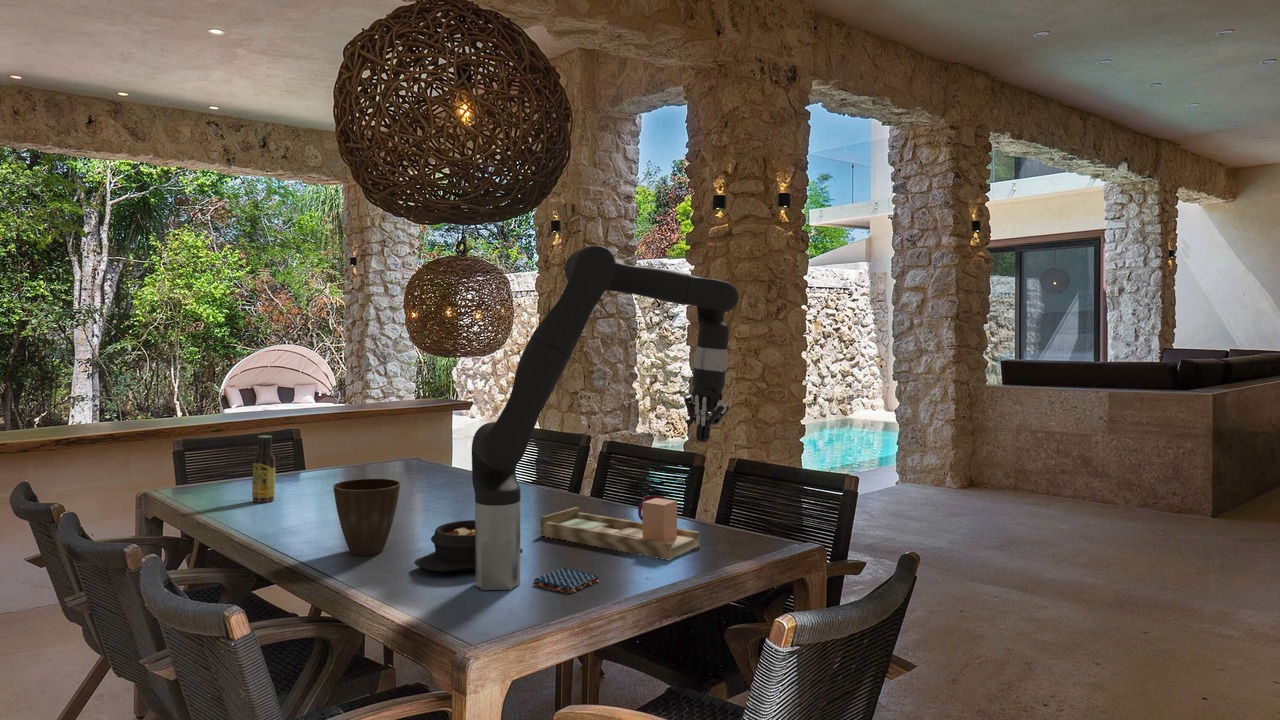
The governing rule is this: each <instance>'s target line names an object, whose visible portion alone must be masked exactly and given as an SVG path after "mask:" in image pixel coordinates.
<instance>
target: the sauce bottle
mask: <svg viewBox="0 0 1280 720" xmlns="http://www.w3.org/2000/svg"><path fill="white" fill-rule="evenodd" d="M257 442H258V444H257V451H256V454H255V458H254V459H253V463H252V479H251V481H252V484H251V485H252V487H251V488H252V489H251V490H252V491H251V493H252V494H251V496H252V502H253V503H259V504H264V503H265V504H266V503H269V502H273V501H274V500H275V495H276V493H275V492H276V489H275V488H276V456H275V455H274V454H273V451H272V450H273V448H272V445H273V444H272V443H273V436H272V435H259V436H257Z"/></svg>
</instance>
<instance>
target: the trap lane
mask: <svg viewBox="0 0 1280 720" xmlns="http://www.w3.org/2000/svg"><path fill="white" fill-rule="evenodd" d="M642 526H643V523H642V521H641V522H640V521H635V520H628V519H624V518H623V519H622V518H617V517H612V516H611V517H610V516H604V515H599V514H598V515H597V514H593V513H586V512H580V507H579V506H574V507H571V508H567V509H564V510H560V511H557V512H553V513H549V514H546V515H542V516H540V537H541V536H545V537H544V538H547V537H550V538H549V539H552V538H556V539H555V540H557V539H561V540H560V541H562V540H567V541H566V542H568V541H573V542H579V543H583V544H582V545H584V544H588V545H587V546H589V545H593V546H592V547H594V546H599V547H598V548H600V547H603V548H602V549H605V548H609V549H608V550H610V549H613V550H612V551H616V550H618V551H617V552H621V551H623V552H622V553H626V552H629V553H628V554H632V553H635V554H634V555H637V554H641V555H640V556H642V555H647V556H652V557H651V558H653V557H658V558H663V559H668V560H667V561H670V560H669V559H671V558H673V559H675V558H674V557H676V556H678V555H680V554H682V553H684V552H687V551H689V550H691V549H693V548H696V547H698V546H700V547H701V544H700V543H701V532H700V531H696V530H690V529H684V528H678V527H677V538H675V539H673V540H670V541H668V542H661V541H655V540H650V539H644V538H642ZM573 542H572V543H573ZM698 548H699V547H698ZM696 549H697V548H696ZM689 552H690V551H689ZM687 553H688V552H687ZM647 556H646V557H647ZM680 556H681V555H680ZM678 557H679V556H678ZM658 558H657V559H658ZM676 558H677V557H676ZM663 559H662V560H663ZM671 560H672V559H671Z"/></svg>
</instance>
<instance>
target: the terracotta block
mask: <svg viewBox="0 0 1280 720" xmlns="http://www.w3.org/2000/svg"><path fill="white" fill-rule="evenodd" d="M677 528H678V500H675V499H674V500H672V499H668V498H667V499H660V498H654V499H651V500H648V501H645V502H643V526H642V538H644V539H650V540H655V541H661V542H668V541H670V540H673V539H675V538H677Z"/></svg>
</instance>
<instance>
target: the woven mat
mask: <svg viewBox="0 0 1280 720" xmlns="http://www.w3.org/2000/svg"><path fill="white" fill-rule="evenodd" d="M533 581H534V582H532V585H536V586H535V587H537V586H539V587H538V588H542V587H544V588H543V589H545V588H549V589H548V590H550V589H553V590H552V591H554V590H557V591H556V592H558V591H562V592H561V593H563V592H568V593H576V592H577V591H576V590H579V589H582V590H583V589H584V588H583V587H585V586H586V585H587V586H588V585H589V586H590V585H591V586H593V585H592V583H595V582H598V583H600V578H599V575H596V573H593V574H591V573H590V572H586V573H585V572H584V571H579V570H577V569H575V570H573V569H572V568H568V569H566V567H563V568H558V569H557V570H553V571H552V572H548V573H546V574H545V573H544V574H543V575H539V577H535V578H534V579H533ZM578 588H579V589H578Z"/></svg>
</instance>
